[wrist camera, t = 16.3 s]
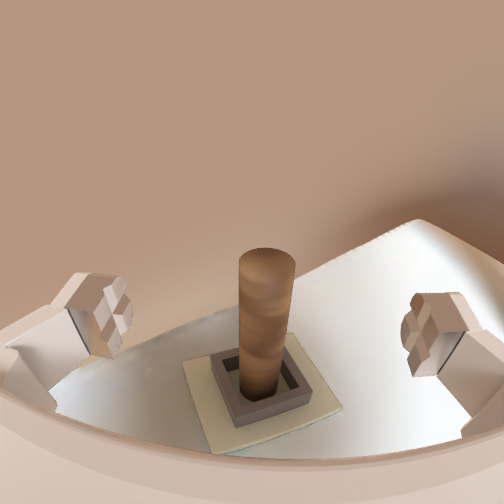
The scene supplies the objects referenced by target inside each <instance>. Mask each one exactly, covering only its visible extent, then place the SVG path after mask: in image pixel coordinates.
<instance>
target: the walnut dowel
mask: <svg viewBox="0 0 504 504" xmlns="http://www.w3.org/2000/svg"><path fill="white" fill-rule="evenodd" d="M295 266H296V265H295V261H294V259H293V258H292V257H291V256H290V255H289V254H287V253H286V252H283V251H281V250H278V249H273V248H257V249H253V250H250V251H248V252H246V253H244V254H243V255H242V256H241V257H240V259H239V389H240V392H241V394H242V395H243V396H244V397H245V398H246V399H247V400H249V401H252V402H257V401H260V400H263V399H266V398H269V397H272V396H274V395H275V394H276V391H277V386H278V380H279V374H280V368H281V362H282V356H283V350H284V344H285V337H286V331H287V324H288V317H289V310H290V303H291V296H292V289H293V281H294V273H295Z"/></svg>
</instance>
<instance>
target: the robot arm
mask: <svg viewBox="0 0 504 504" xmlns="http://www.w3.org/2000/svg"><path fill="white" fill-rule="evenodd" d="M125 290H126V284H125V281H124V279H123V278H121V277H120V276H112V275H104V274H97V273H88V272H77V273H75V274H74V275H73V276H72V278H71V279H70V280H69V281H68V282H67V284H66V285H65V286H64V287H63V289H62V290H61V291H60V292H59V294H58V295H57V296H56V298H55V299H54V301H53V302H52V303H51V304H50V305H45V306H43V307H41V308H39V309H37V310H35V311H34V312H32V313H31V314H28V315H27V316H25V317H23V318H21V319H20V320H18V321H16V322H14V323H13V324H11V325H9V326H7V327H6V328H4V329H2V330H1V331H0V504H504V343H503V342H502V341H500V340H499V339H498V338H496V337H495V336H494V335H493V334H491V333H490V332H489V331H487V330H482V328H481V326H480V324H479V322H478V321H477V319H476V317H475V315H474V314H473V312H472V310H471V308H470V307H469V305H468V303H467V302H466V300H465V298H464V297H463V295H462V294H460V293H459V292H447V293H416V294H415V295H414V296H413V298H412V300H411V302H410V306H411V309H412V310H411V311H410V312H409V313H407V314H406V315H405V317H404V319H403V322H402V324H401V333H400V334H401V341H402V344H403V347H404V348H405V349H406V350H407V351H408V352H410V353H409V356H408V358H407V360H408V364H409V367H410V370H411V373H412V377H422V376H434V375H437V378H438V379H439V380H440V381H441V382H442V383H443V384H444V386H445V387H446V388H447V389H448V390H449V391H450V392H451V394H452V395H453V396H454V397H455V398H456V399H457V401H458V402H459V403H460V404H461V405H462V406H463V408H464V409H465V410H466V411H467V412H468V413H469V415H470V416H471V417H472V419H471V420H469V421H468V422H467V423H466V424H465V425H464V426H463V428H462V429H461V435H462V438H460V439H457V440H453V441H449V442H445V443H441V444H436V445H432V446H427V447H422V448H417V449H412V450H406V451H400V452H393V453H387V454H379V455H370V456H361V457H349V458H333V459H267V458H251V457H239V456H229V455H220V454H212V453H205V452H198V451H192V450H186V449H181V448H175V447H170V446H165V445H160V444H156V443H151V442H147V441H143V440H139V439H135V438H131V437H127V436H124V435H120V434H117V433H113V432H110V431H107V430H103V429H100V428H97V427H94V426H91V425H88V424H85V423H82V422H80V421H77V420H74V419H71V418H69V417H66V416H64V415H61V414H59V413H56V412H55V410H56V407H57V403H56V401H55V399H54V398H53V397H52V396H51V395H50V393H49V392H48V391H49V390H50V389H51V388H52V387H54V386H55V385H56V384H57V383H58V382H60V381H61V380H62V379H63V378H64V377H65V376H67V375H68V374H69V373H70V372H71V371H73V370H74V369H75V368H76V367H77V366H79V365H80V364H81V363H82V362H83V361H85V360H86V359H87V358H88V357H89V356H90V354H91V355H95V356H100V357H105V358H110V359H115V357H116V354H117V352H118V350H119V348H120V346H121V344H122V339H121V335H122V334H124V333H125V332H127V331H128V329H129V327H130V325H131V322H132V316H133V311H132V305H131V301H130V299H128V297H127V296H126V295H125V294H124V292H125Z"/></svg>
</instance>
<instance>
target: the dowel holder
mask: <svg viewBox="0 0 504 504" xmlns="http://www.w3.org/2000/svg"><path fill="white" fill-rule="evenodd" d="M182 366H183V369H184V373H185V376H186V379H187V382H188V386H189V389H190V392H191V395H192V398H193V401H194V405H195V408H196V411H197V414H198V417H199V419H200V422H201V425H202V428H203V431H204V434H205V437H206V439H207V442H208V445H209V448H210V450H211V453H212V454H220V455H222V454H226V453H230V452H233V451H236V450H240V449H243V448H246V447H249V446H253V445H256V444H259V443H262V442H265V441H268V440H270V439H273V438H276V437H279V436H282V435H284V434H287V433H290V432H292V431H295V430H297V429H300V428H302V427H305V426H307V425H310V424H312V423H314V422H317V421H319V420H321V419H324V418H326V417H328V416H330V415H333V414H335V413H337V412H339V411H340V410H341V408H342V405H341V404H340V403H339V401H338V400H337V398H336V397H335V395H334V394H333V392H332V391H331V389H330V388H329V386H328V385H327V383H326V382H325V380H324V379H323V377H322V376H321V375H320V373H319V372H318V370H317V369H316V367H315V366H314V364H313V363H312V361H311V360H310V358H309V357H308V355H307V354H306V352H305V351H304V349H303V348H302V346H301V345H300V343H299V342H298V340H297V339H296V337H295V336H294V334H293V333H288V334H286V337H285V344H284V350H283V356H282V362H281V368H280V374H279V380H278V386H277V391H276V394H275V395H274V396H272V397H269V398H266V399H263V400H260V401H257V402H252V401H249V400H247V399H246V398H245V397H244V396H243V395H242V394H241V392H240V389H239V348H235V349H231V350H227V351H223V352H219V353H215V354H211V355H207V356H203V357H199V358H194V359H190V360H186V361H182Z"/></svg>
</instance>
